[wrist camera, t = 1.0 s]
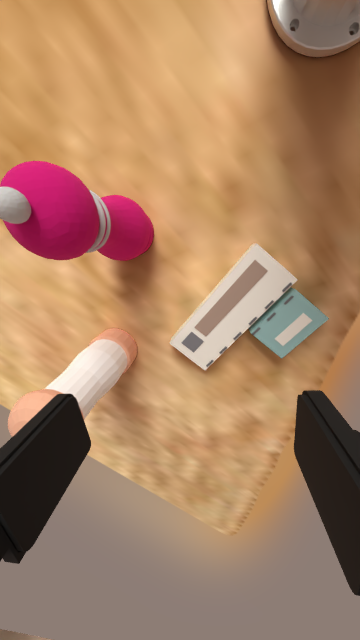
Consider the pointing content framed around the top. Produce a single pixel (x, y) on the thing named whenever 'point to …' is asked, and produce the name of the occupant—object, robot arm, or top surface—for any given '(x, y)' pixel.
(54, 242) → the pepper mill
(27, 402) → the pepper shaker
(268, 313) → the stub
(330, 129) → the top surface
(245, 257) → the ticket
